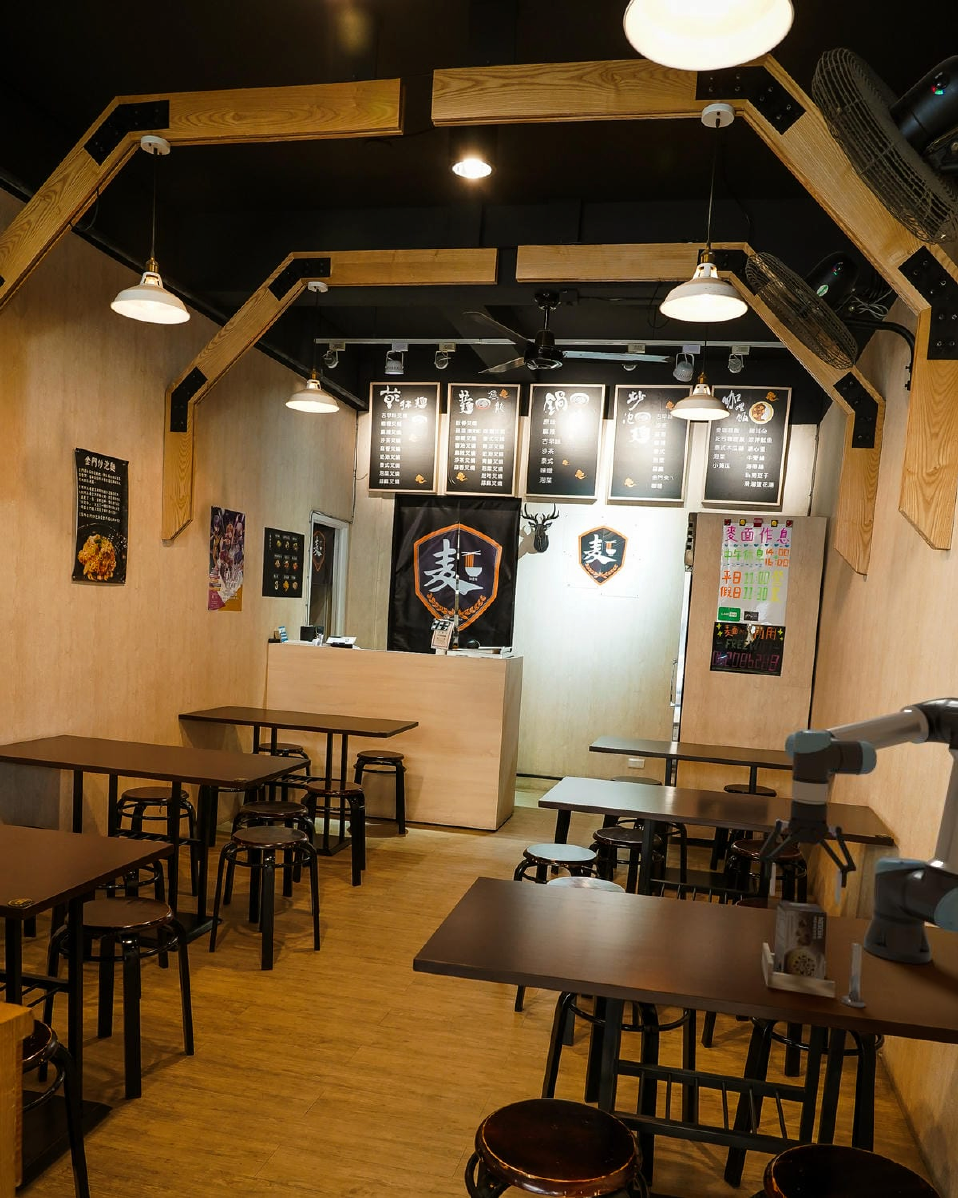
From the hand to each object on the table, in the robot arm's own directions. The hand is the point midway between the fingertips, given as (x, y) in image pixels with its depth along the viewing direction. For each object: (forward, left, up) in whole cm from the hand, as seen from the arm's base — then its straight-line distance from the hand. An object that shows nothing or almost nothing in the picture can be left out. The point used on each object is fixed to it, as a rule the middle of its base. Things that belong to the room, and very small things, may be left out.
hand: (804, 898), depth 196 cm
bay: (0, 0, -18) cm, 18 cm away
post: (-10, +9, -18) cm, 22 cm away
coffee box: (0, 0, -18) cm, 18 cm away
